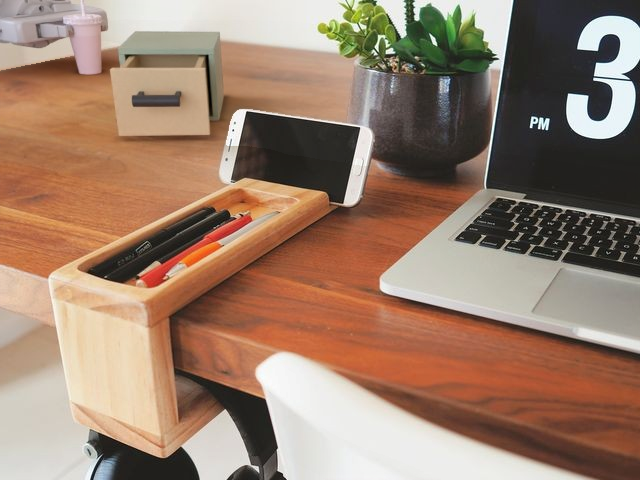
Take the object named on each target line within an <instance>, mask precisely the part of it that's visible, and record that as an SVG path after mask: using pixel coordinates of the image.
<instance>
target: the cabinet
mask: <svg viewBox="0 0 640 480" xmlns="http://www.w3.org/2000/svg"><path fill="white" fill-rule="evenodd" d="M221 44H222V43H221V32H220V31H165V30H164V31H161V30H160V31H157V30H156V31H155V30H154V31H153V30H151V31H149V30H147V31H146V30H145V31H144V30H135V31H134V32H132V34H130V36H129V37H128V38H127V39H125V40H124V41H123V42H122V44H120V45H119V47H117V53H118V61H119V68H120V67H121V65H122V64H123V63H124V62H125V61H126V60H127V59H128V58H129V56H130V55H131V54H173V55H207V61H208V74H209V88H210V102H211V108H210V112H209V119H210V122H213V121H217V122H219V121H220V117H221V112H222V109H223V103H224V98H225V91H224V89H225V88H224V75H223V62H222V61H223V60H222V59H223V58H222V45H221Z"/></svg>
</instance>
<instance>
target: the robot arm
mask: <svg viewBox="0 0 640 480" xmlns="http://www.w3.org/2000/svg"><path fill="white" fill-rule="evenodd" d="M84 6H85V13H86V14H95V15H100V16H102V23H101V33H102V32H107V31H108V30H109V20H108V19H109V18H108V15H107V12H106V11H105V9H103V8H99V7H95V6H90V5H85V4H84ZM73 14H82V9H81V4H79V3H72V1H71V0H0V44H12V45H13V46H14V45H15V46H19V47H25V48H33V49H43V48H46V47H47V46H49V45H50V44H53V43H55V42H57V41H60V40H63V39H66V38H69V37H72V36H73V32H72V30H73V29H72V27H71V26H69V25H66V24H64V23H63V22H64V21H63V17H64V16H66V15H73Z"/></svg>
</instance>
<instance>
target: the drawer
mask: <svg viewBox="0 0 640 480" xmlns="http://www.w3.org/2000/svg"><path fill="white" fill-rule="evenodd" d="M109 74H110V81H111V82H110V83H111V89H112V96H113V103H114V110H115V118H116V125H117V126H116V127H117V132H118V136H119V137H139V136H140V137H141V136H142V137H143V136H144V137H146V136H147V137H149V136H150V137H151V136H152V137H153V136H155V137H157V136H159V137H160V136H210V135H211V121H210V119H209V112H210V108H211V102H210V88H209V74H208V61H207V55H173V54H131V55H130V56H129V58H128V59H127V60H126V61H125V62H124V63H123V64H122V65H121V67H120V66H119V67H111V68H110V69H109Z"/></svg>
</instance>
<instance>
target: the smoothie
mask: <svg viewBox="0 0 640 480" xmlns="http://www.w3.org/2000/svg"><path fill="white" fill-rule="evenodd" d="M79 1H80V5H81V9H82V14H73V15H66V16H64V17H63V21H64V22H63V23H64V24H66V25H69V26H71V27H72V29H73V30H72V32H73V36H72V37H68V38H69V41H70V45H71V49H72V52H73V56H74V59H75V62H76V66H77V70H78V73H79V74H81V75H97V74H101V73H102V32H101V23H102V16H100V15H95V14H86V13H85V6H86V5H85V0H79ZM84 5H85V6H84Z"/></svg>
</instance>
